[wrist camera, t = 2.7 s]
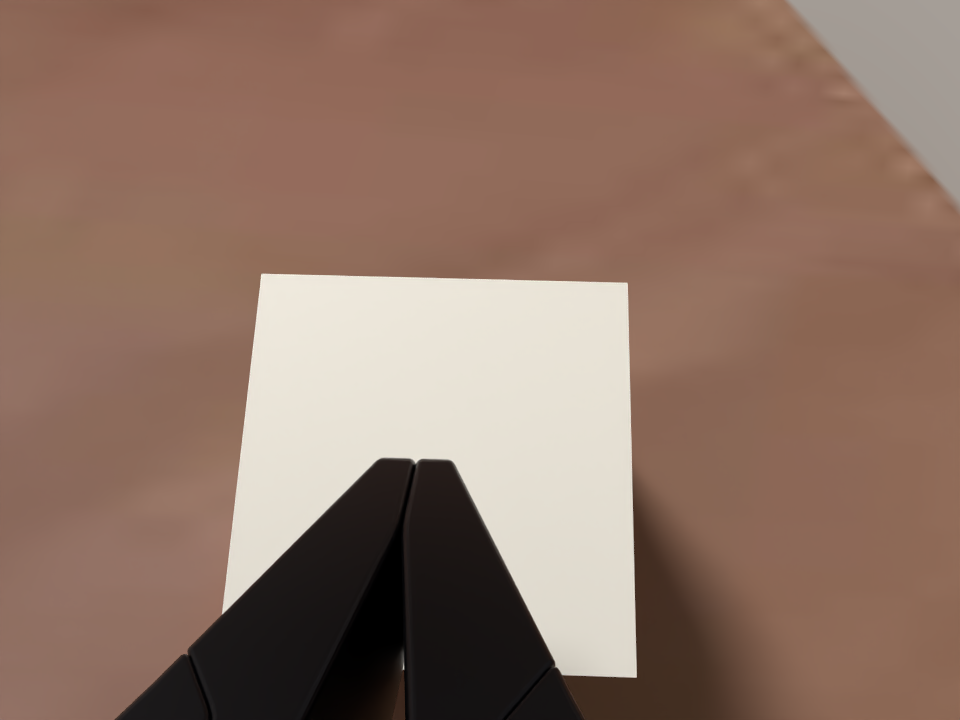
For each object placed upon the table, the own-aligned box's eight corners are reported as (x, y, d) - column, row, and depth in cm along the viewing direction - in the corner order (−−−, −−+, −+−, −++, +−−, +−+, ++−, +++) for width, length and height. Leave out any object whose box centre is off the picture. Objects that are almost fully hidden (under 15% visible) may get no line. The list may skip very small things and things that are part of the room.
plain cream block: (575, 640, 19) (636, 677, 11) (326, 632, 19) (216, 663, 11) (575, 397, 20) (627, 283, 13) (345, 390, 21) (261, 274, 13)
